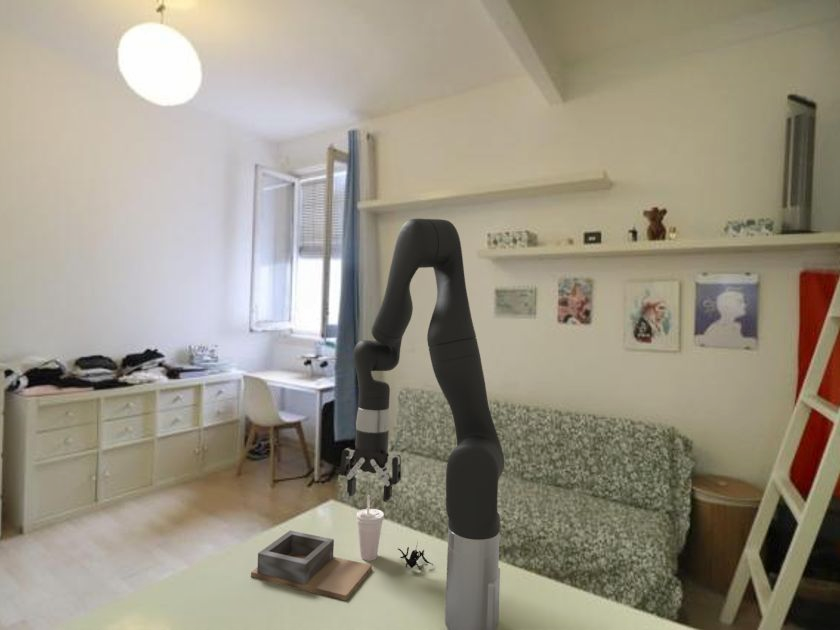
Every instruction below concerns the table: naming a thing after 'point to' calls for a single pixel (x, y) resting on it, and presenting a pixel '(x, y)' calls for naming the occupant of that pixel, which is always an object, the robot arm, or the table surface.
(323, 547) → the board
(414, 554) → the creature
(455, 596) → the robot arm
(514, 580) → the table surface
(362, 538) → the smoothie
